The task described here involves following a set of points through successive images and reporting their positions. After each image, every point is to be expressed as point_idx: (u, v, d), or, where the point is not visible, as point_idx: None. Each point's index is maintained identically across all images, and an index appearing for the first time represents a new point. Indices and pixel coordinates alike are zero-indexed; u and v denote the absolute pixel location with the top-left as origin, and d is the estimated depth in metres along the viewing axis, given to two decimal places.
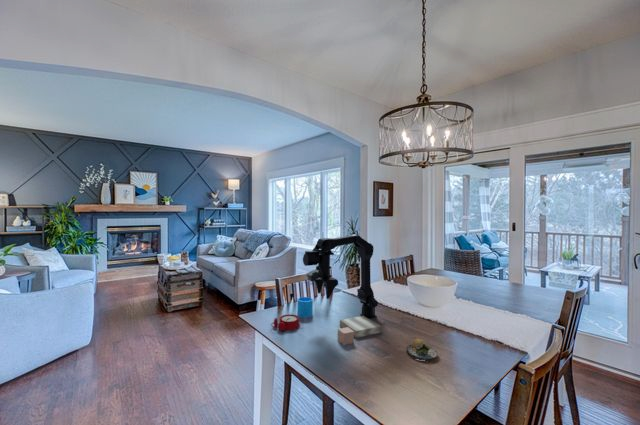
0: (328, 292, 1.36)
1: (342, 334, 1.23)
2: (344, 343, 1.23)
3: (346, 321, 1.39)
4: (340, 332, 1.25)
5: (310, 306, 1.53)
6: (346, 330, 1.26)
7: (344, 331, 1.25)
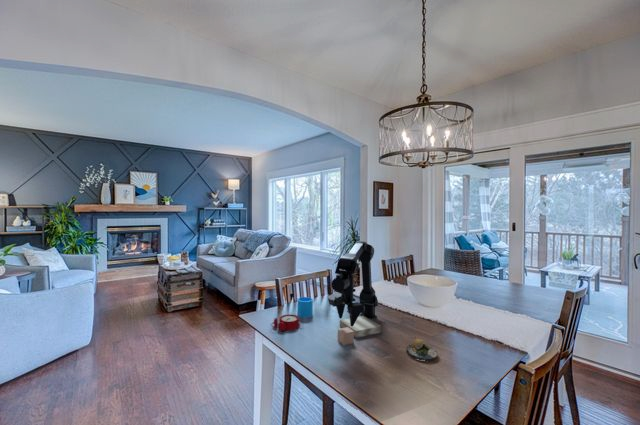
0: (352, 319, 1.20)
1: (342, 334, 1.23)
2: (344, 343, 1.23)
3: (346, 321, 1.39)
4: (340, 332, 1.25)
5: (310, 306, 1.53)
6: (346, 330, 1.26)
7: (344, 331, 1.25)
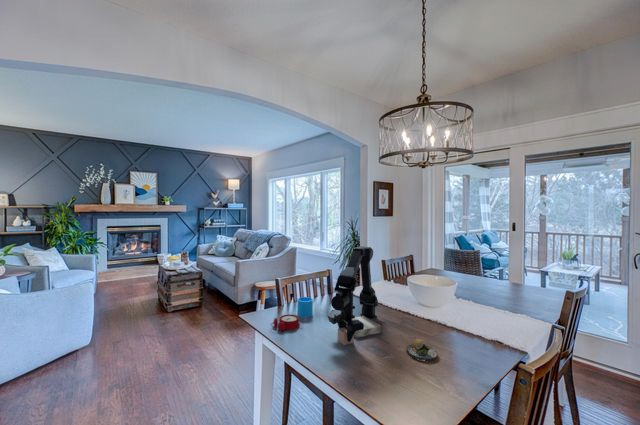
0: (349, 335, 1.22)
1: (342, 334, 1.23)
2: (344, 343, 1.23)
3: None
4: (340, 332, 1.25)
5: (310, 306, 1.53)
6: None
7: (344, 330, 1.25)
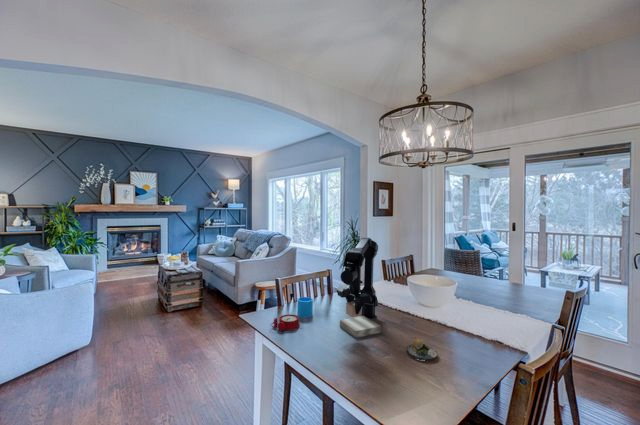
0: (357, 308, 1.29)
1: (350, 307, 1.30)
2: (352, 315, 1.29)
3: (346, 321, 1.39)
4: (348, 305, 1.31)
5: (310, 306, 1.53)
6: (354, 303, 1.32)
7: (352, 304, 1.31)
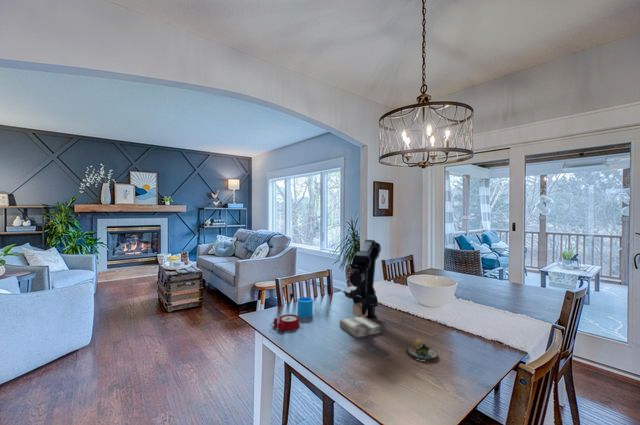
0: (364, 308, 1.35)
1: (357, 307, 1.36)
2: (359, 315, 1.36)
3: (346, 321, 1.39)
4: (355, 306, 1.38)
5: (310, 306, 1.53)
6: (361, 304, 1.39)
7: (359, 305, 1.38)
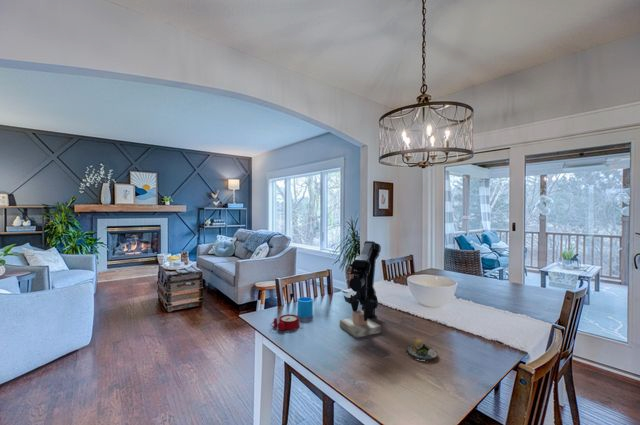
0: (366, 314, 1.34)
1: (357, 316, 1.36)
2: (359, 324, 1.36)
3: (346, 321, 1.39)
4: (355, 314, 1.38)
5: (310, 306, 1.53)
6: (361, 312, 1.39)
7: (359, 313, 1.38)
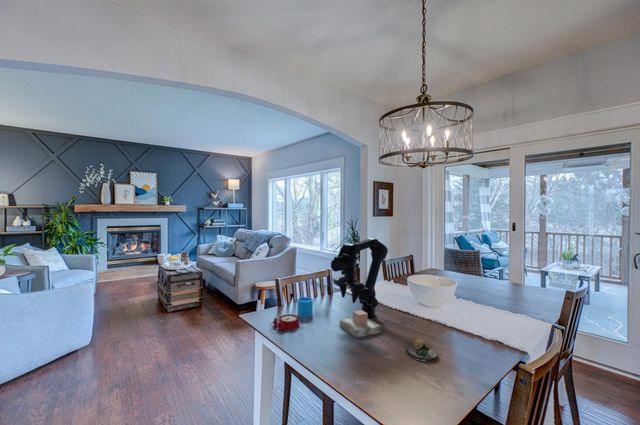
0: (354, 296, 1.39)
1: (357, 316, 1.36)
2: (359, 324, 1.36)
3: (346, 321, 1.39)
4: (355, 314, 1.38)
5: (310, 306, 1.53)
6: (361, 312, 1.39)
7: (359, 313, 1.38)
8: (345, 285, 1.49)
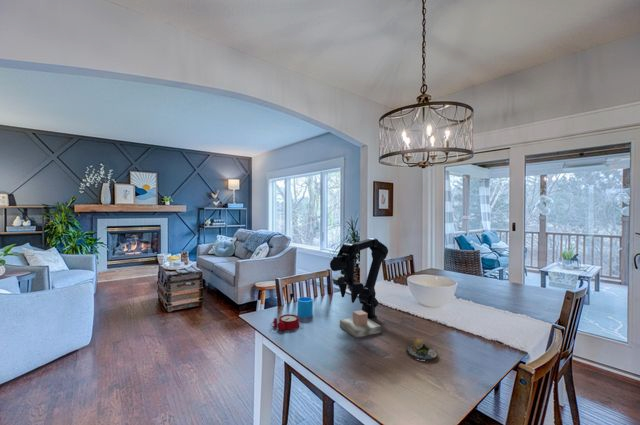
0: (353, 296, 1.39)
1: (357, 316, 1.36)
2: (359, 324, 1.36)
3: (346, 321, 1.39)
4: (355, 314, 1.38)
5: (310, 306, 1.53)
6: (361, 312, 1.39)
7: (359, 313, 1.38)
8: (345, 285, 1.50)
